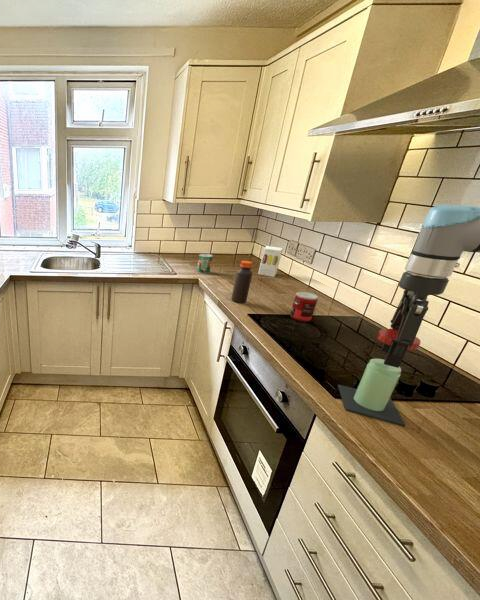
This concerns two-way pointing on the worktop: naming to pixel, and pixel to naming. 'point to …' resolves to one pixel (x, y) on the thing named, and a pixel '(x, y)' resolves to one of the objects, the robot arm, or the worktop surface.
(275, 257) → the supplement box
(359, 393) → the jar
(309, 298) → the canned food
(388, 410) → the coaster
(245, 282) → the bottle
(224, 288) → the worktop surface
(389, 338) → the lid
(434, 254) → the robot arm
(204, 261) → the canned tomato
